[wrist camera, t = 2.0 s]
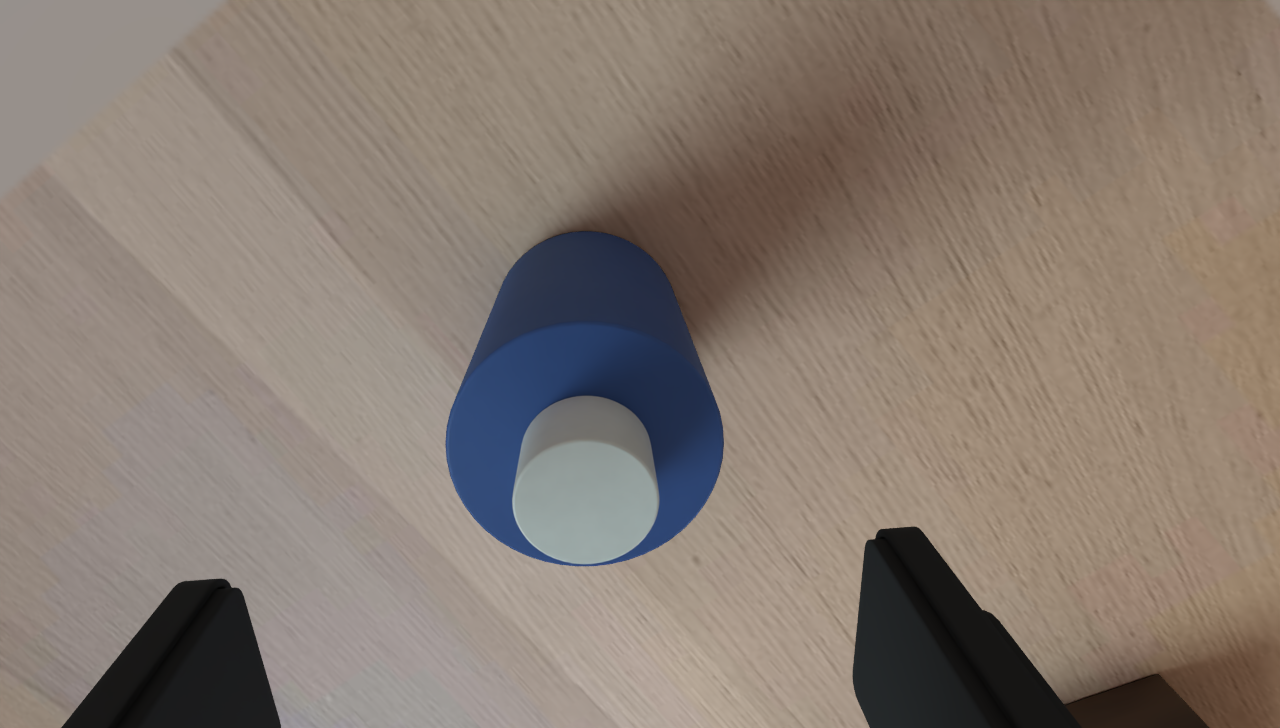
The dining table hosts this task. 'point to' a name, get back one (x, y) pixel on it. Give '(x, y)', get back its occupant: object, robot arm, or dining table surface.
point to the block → (1136, 707)
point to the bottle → (585, 408)
